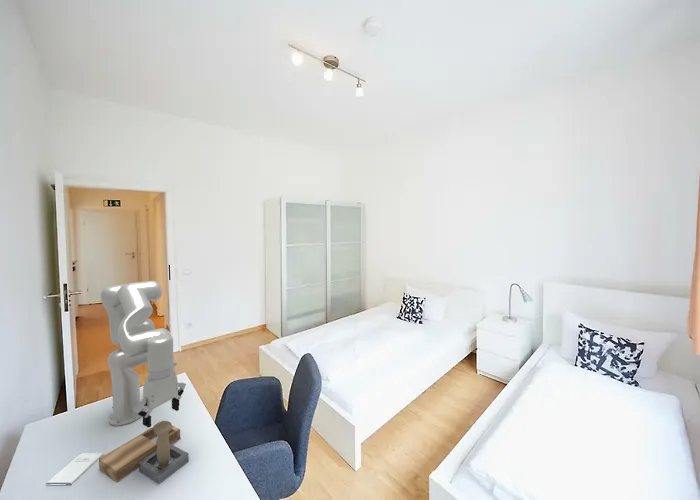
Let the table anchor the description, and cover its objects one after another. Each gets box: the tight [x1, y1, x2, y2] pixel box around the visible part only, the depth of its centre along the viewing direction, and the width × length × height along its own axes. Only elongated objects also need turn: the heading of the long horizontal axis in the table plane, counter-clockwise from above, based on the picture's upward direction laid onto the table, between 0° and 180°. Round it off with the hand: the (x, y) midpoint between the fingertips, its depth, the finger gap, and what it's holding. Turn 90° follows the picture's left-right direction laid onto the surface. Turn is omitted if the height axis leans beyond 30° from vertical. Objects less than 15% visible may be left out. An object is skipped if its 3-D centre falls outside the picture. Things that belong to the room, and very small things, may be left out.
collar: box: [138, 444, 190, 485], centre depth 102 cm, size 12×10×3 cm
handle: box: [152, 420, 173, 470], centre depth 102 cm, size 5×6×15 cm
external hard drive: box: [45, 452, 104, 486], centre depth 100 cm, size 2×8×12 cm
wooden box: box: [98, 425, 181, 483], centre depth 107 cm, size 11×22×4 cm, turn 155°
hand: (162, 417), depth 101 cm, fingers open, 9 cm apart
